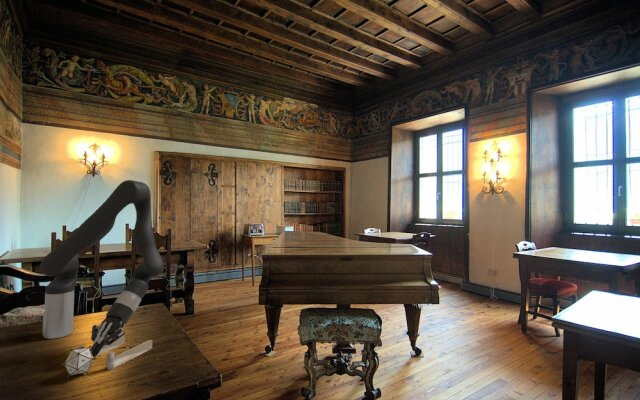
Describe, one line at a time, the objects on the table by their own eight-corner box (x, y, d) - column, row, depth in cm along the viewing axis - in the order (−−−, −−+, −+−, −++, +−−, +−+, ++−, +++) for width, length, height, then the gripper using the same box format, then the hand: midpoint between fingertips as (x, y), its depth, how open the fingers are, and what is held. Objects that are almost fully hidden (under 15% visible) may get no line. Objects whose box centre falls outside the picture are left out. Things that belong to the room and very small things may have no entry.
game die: (80, 388, 100) (78, 371, 95) (55, 378, 100) (52, 359, 95) (103, 362, 108) (102, 345, 103) (80, 352, 108) (78, 334, 103)
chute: (74, 363, 108) (75, 348, 108) (121, 342, 125) (121, 329, 125) (109, 370, 104) (110, 354, 104) (153, 348, 120) (153, 334, 121)
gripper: (103, 300, 117) (67, 348, 105) (132, 303, 113) (98, 354, 101) (116, 310, 122) (83, 358, 110) (144, 314, 118) (113, 364, 106)
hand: (90, 356), depth 105 cm, fingers closed
